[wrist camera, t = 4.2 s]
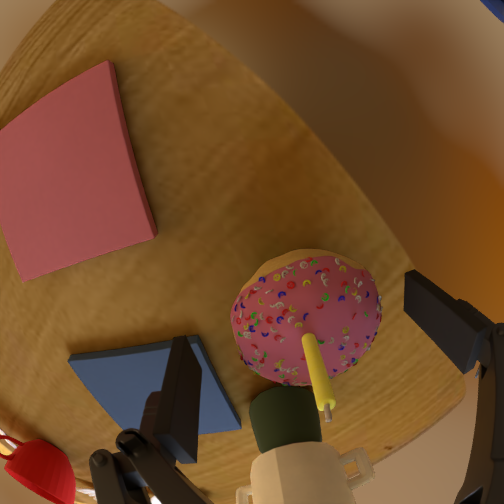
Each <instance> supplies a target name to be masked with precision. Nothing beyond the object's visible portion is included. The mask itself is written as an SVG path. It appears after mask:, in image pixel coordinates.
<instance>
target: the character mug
mask: <svg viewBox="0 0 504 504" xmlns="http://www.w3.org/2000/svg"><path fill="white" fill-rule="evenodd" d="M249 415H250V420H251V424H252V428H253V431H254V435H255V438H256V441H257V444H258V448H259V450H260V452H261V453H262V454H261V455H259V456H258V457H257V458H256V459H255V460H254V461H253V462H252V468H251V474H250V477H251V485H247V486H242V487H239V488H238V489H237V490H236V504H248V495H249V494H252V497H253V504H356V502H355V499H354V496H353V493H352V490H353V489H355V488H358V487H360V486H363V485H365V484H367V483H369V482H370V481H372V480H373V479H374V477H375V472H374V469H373V467H372V464H371V462H370V459H369V457H368V455H367V452H366V451H365V450H364V449H363V448H356V449H354V450H352V451H349V452H347V453H345V454H343V455H340V454H339V452H338V451H337V450H336V449H335V448H334V447H333V446H331V445H329V444H327V443H324V442H322V435H321V427H320V419H319V413H318V409H317V405H316V400H315V396H314V394H313V393H311V392H310V391H308V390H307V389H304V388H299V387H295V386H283V387H274V388H271V389H269V390H267V391H264V392H262V393H260V394H259V395H258V396H257V397H256V398H255V399H254V400H253V401H252V402H251V405H250V410H249ZM352 461H356V464H357V466H358V469H359V472H360V475H358V476H356V477H354V478H351V479H349V480H348V478H347V475H346V472H345V469H344V466H343V465H346V464H348V463H350V462H352Z"/></svg>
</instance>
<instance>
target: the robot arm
mask: <svg viewBox="0 0 504 504" xmlns="http://www.w3.org/2000/svg"><path fill="white" fill-rule="evenodd" d="M501 1H502V2H503V3H504V0H501ZM404 311H405V312H406V313H407V314H408V315H409V316H410V317H411V318H412V319H413V320H414V321H415V323H416V324H417V325H418V326H419V327H420V328H421V329H422V330H423V331H424V332H425V333H426V334H427V335H428V336H429V337H430V338H431V339H432V340H433V341H434V342H435V343H436V344H437V346H438V347H439V348H440V349H441V350H442V351H443V352H444V353H445V354H446V355H447V356H448V358H449V359H450V360H451V361H452V362H453V363H454V364H455V365H456V366H457V368H458V369H459V370H460V371H461V372H462V373H463V374H465V373H467V372H468V371H470V370H471V369H473V368H474V366H475V363H476V361H477V360H478V361H479V362H480V365H479V368H478V370H477V373H476V375H475V378H477V376H478V374H479V387H478V404H477V415H476V424H475V431H474V438H473V444H472V450H471V455H470V460H469V464H468V469H467V473H466V477H465V481H464V483H463V486H462V487H461V489H460V491H459V492H458V495H457V497H456V499H455V502H454V504H504V323H497V324H494V323H493V322H492V321H491V320H490V319H488V318H487V317H486V316H485V315H483V314H482V313H481V312H480V311H478V310H477V309H476V308H474V307H473V306H472V305H471V304H469V303H468V302H467V301H464V300H461V299H458V300H455V299H454V298H453V297H451V296H450V295H449V294H447V293H446V292H444V291H443V290H442V289H441V288H439V287H438V286H437V285H435V284H434V283H433V282H431V281H430V280H429V279H427V278H426V277H424V276H423V275H422V274H420V273H419V272H418V271H416V270H415V269H414V270H411V271H409V272H406V273H405V288H404ZM201 382H202V367H201V365H200V363H199V361H198V359H197V357H196V355H195V353H194V351H193V349H192V347H191V345H190V343H189V341H188V339H187V337H186V335H184V336H179V337H174V338H173V341H172V345H171V349H170V353H169V358H168V362H167V366H166V370H165V375H164V379H163V384H162V388H161V391H154V392H151V393H150V395H149V396H148V398H147V399H146V403H145V407H144V408H145V409H144V411H143V416H142V419H141V423H140V427H139V430H138V429H135V428H128V429H125V430H123V431H122V432H121V433H120V434H119V435H118V436H117V438H116V447H117V448H118V449H119V450H120V451H121V452H118V453H114V454H111V453H110V452H109V451H108V450H105V449H99V450H97V451H95V452H94V453H93V454H92V455H91V457H90V459H89V465H90V471H91V476H92V481H93V486H94V490H95V495H96V499H97V503H98V504H152V503H151V500H150V498H149V495H148V493H147V491H146V488H145V486H148V487H149V489H150V490H151V491H152V492H153V494H154V495H155V496H156V498H157V499H158V500H159V501H160V503H161V504H214V503H213V502H212V501H211V500H209V499H208V498H207V497H206V496H205V495H204V494H203V493H202V492H201V491H200V490H199V489H198V488H197V487H196V486H195V485H194V484H193V483H192V482H191V481H190V480H189V479H188V478H187V477H186V476H185V475H184V474H183V473H182V472H181V471H180V470H179V469H178V468H177V467H176V466H175V465H176V459H177V460H178V461H179V462H180V463H181V464H188V463H197V450H198V429H199V412H200V396H201Z"/></svg>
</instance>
